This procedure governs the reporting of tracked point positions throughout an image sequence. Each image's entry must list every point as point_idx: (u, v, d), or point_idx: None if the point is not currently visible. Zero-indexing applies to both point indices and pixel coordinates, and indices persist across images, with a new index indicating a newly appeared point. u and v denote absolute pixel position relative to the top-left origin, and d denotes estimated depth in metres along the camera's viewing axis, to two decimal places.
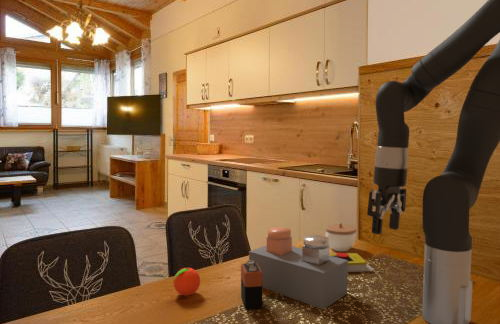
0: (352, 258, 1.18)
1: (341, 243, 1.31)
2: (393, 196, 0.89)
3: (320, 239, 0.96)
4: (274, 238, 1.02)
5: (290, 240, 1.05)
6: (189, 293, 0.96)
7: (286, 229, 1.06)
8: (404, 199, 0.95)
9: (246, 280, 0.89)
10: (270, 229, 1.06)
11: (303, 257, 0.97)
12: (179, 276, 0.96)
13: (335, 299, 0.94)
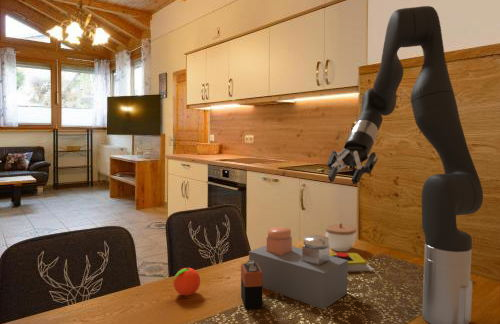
0: (352, 258, 1.18)
1: (341, 243, 1.31)
2: (347, 151, 1.10)
3: (320, 239, 0.96)
4: (274, 238, 1.02)
5: (290, 240, 1.05)
6: (189, 293, 0.96)
7: (286, 229, 1.06)
8: (369, 159, 1.05)
9: (246, 280, 0.89)
10: (270, 229, 1.06)
11: (303, 257, 0.97)
12: (179, 276, 0.96)
13: (335, 299, 0.94)
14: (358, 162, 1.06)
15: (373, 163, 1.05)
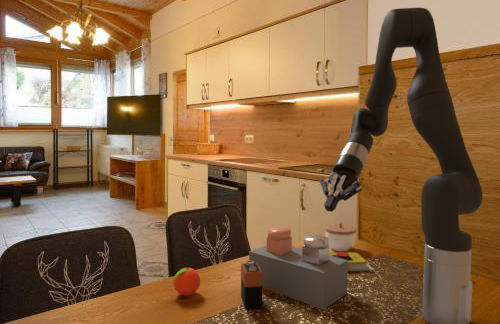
0: (352, 257, 1.19)
1: (341, 243, 1.31)
2: (335, 175, 1.05)
3: (320, 239, 0.96)
4: (274, 238, 1.02)
5: (290, 240, 1.05)
6: (189, 293, 0.96)
7: (286, 229, 1.06)
8: (350, 187, 1.01)
9: (246, 280, 0.89)
10: (270, 229, 1.06)
11: (303, 257, 0.97)
12: (179, 276, 0.96)
13: (335, 299, 0.94)
14: (338, 188, 1.02)
15: (353, 192, 1.01)
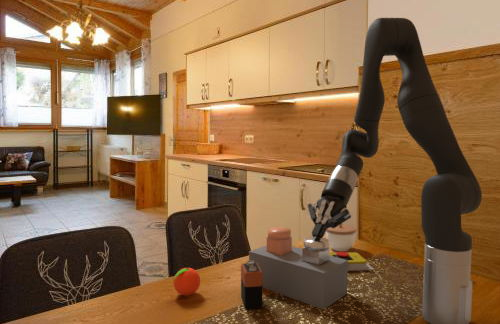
0: (352, 257, 1.19)
1: (341, 243, 1.31)
2: (324, 201, 1.01)
3: (320, 241, 0.96)
4: (274, 238, 1.02)
5: (290, 240, 1.05)
6: (189, 293, 0.96)
7: (286, 229, 1.06)
8: (338, 214, 0.97)
9: (246, 280, 0.89)
10: (270, 229, 1.06)
11: (303, 259, 0.97)
12: (179, 276, 0.96)
13: (335, 299, 0.94)
14: (326, 215, 0.98)
15: (341, 220, 0.97)
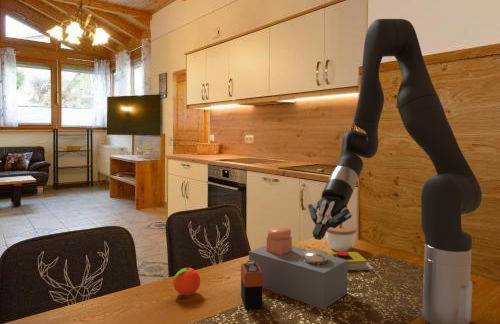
0: (352, 257, 1.19)
1: (341, 243, 1.31)
2: (324, 201, 1.01)
3: (320, 254, 0.96)
4: (274, 238, 1.02)
5: (290, 240, 1.05)
6: (189, 293, 0.96)
7: (286, 229, 1.06)
8: (338, 214, 0.97)
9: (246, 280, 0.89)
10: (270, 229, 1.06)
11: None
12: (179, 276, 0.96)
13: (335, 299, 0.94)
14: (327, 215, 0.98)
15: (342, 220, 0.97)
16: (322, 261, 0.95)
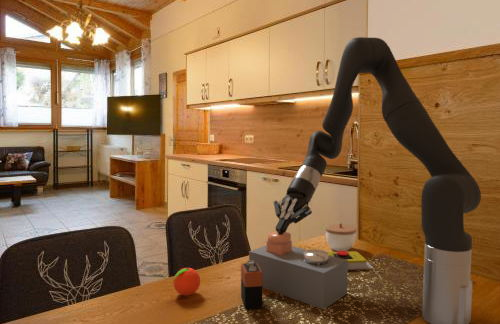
0: (352, 256, 1.20)
1: (341, 243, 1.31)
2: (288, 198, 1.09)
3: (320, 254, 0.96)
4: (274, 242, 1.03)
5: (290, 244, 1.05)
6: (189, 293, 0.96)
7: (286, 233, 1.06)
8: (299, 210, 1.05)
9: (246, 280, 0.89)
10: (270, 233, 1.06)
11: None
12: (179, 276, 0.96)
13: (335, 299, 0.94)
14: (289, 211, 1.06)
15: (303, 216, 1.05)
16: (322, 261, 0.95)
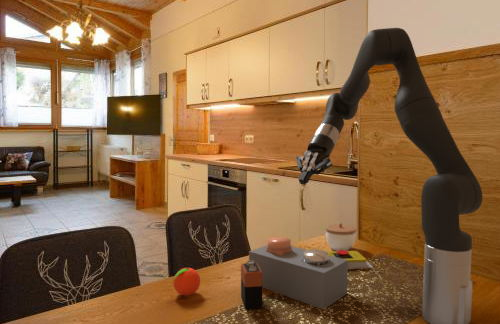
0: (352, 255, 1.21)
1: (341, 243, 1.31)
2: (309, 153, 1.17)
3: (320, 254, 0.96)
4: (274, 248, 1.03)
5: (290, 250, 1.05)
6: (189, 293, 0.96)
7: (286, 239, 1.06)
8: (321, 162, 1.13)
9: (246, 280, 0.89)
10: (270, 239, 1.06)
11: None
12: (179, 276, 0.96)
13: (335, 299, 0.94)
14: (311, 164, 1.14)
15: (324, 167, 1.13)
16: (322, 261, 0.95)
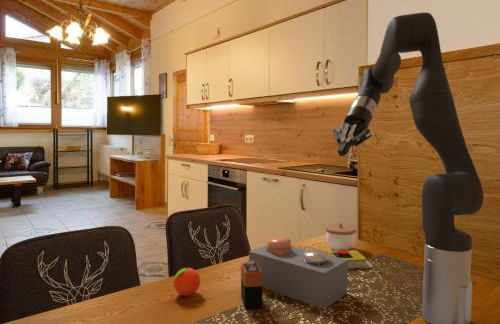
0: (352, 255, 1.21)
1: (341, 243, 1.31)
2: (347, 125, 1.15)
3: (320, 254, 0.96)
4: (274, 248, 1.03)
5: (290, 250, 1.05)
6: (189, 293, 0.96)
7: (286, 239, 1.06)
8: (360, 133, 1.11)
9: (246, 280, 0.89)
10: (270, 239, 1.06)
11: None
12: (179, 276, 0.96)
13: (335, 299, 0.94)
14: (350, 135, 1.12)
15: (363, 138, 1.11)
16: (322, 261, 0.95)
